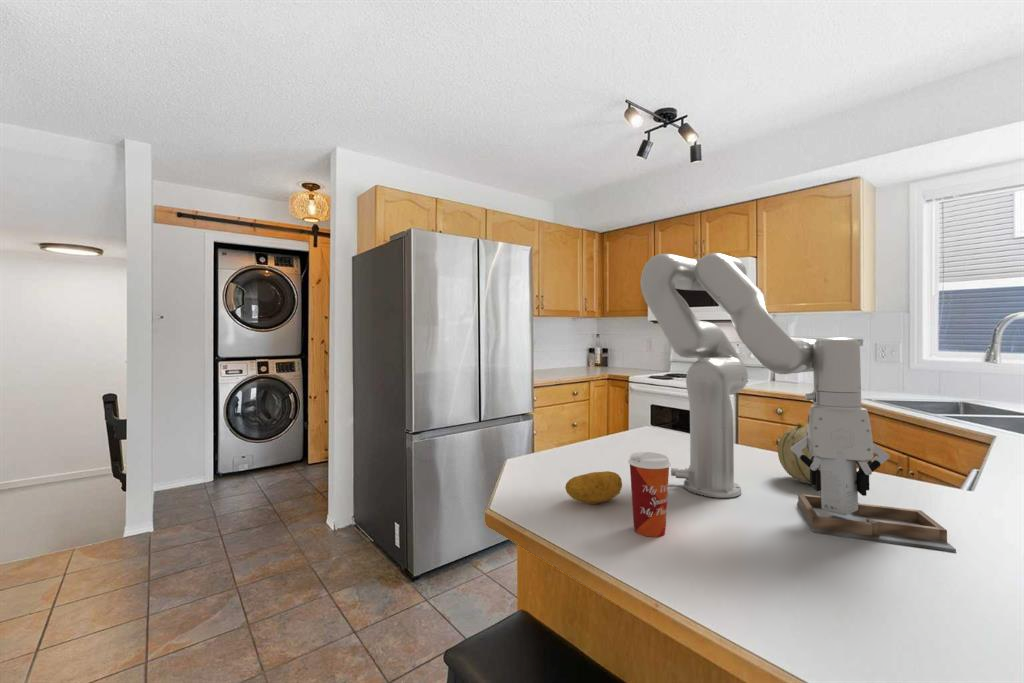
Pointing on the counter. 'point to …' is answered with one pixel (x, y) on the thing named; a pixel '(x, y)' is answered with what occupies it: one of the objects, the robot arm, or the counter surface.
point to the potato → (594, 487)
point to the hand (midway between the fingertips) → (838, 490)
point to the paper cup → (649, 492)
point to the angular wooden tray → (876, 524)
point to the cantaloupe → (789, 458)
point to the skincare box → (839, 485)
